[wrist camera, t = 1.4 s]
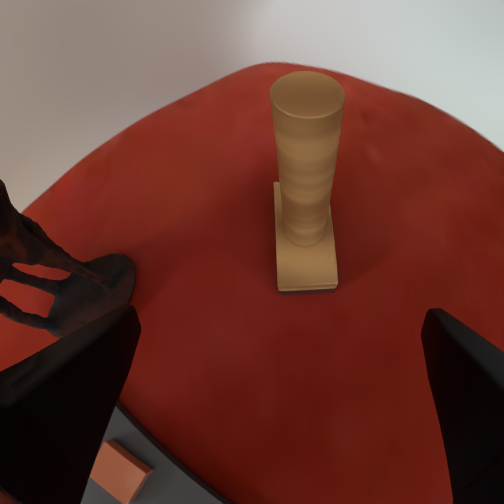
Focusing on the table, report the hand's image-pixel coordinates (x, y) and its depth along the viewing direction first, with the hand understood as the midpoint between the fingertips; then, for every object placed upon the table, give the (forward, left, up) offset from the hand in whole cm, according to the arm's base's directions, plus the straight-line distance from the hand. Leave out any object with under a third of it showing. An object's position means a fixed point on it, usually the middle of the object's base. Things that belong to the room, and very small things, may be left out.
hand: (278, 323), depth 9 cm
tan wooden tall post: (+4, -7, -14) cm, 16 cm away
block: (+3, +16, -13) cm, 21 cm away
